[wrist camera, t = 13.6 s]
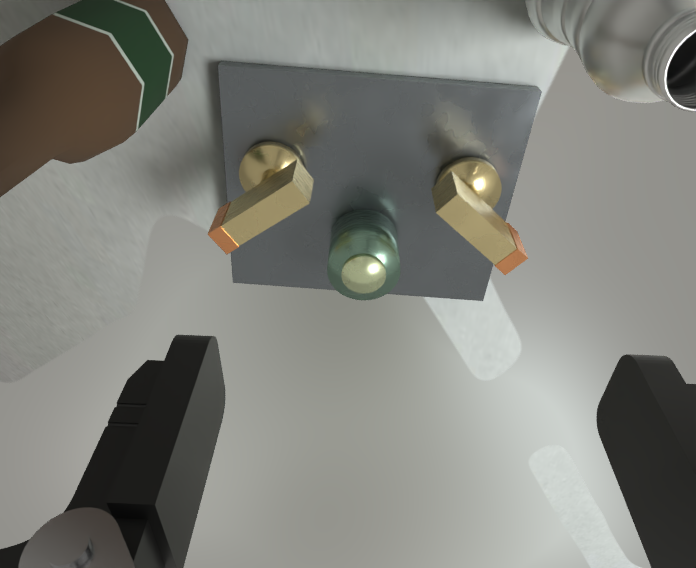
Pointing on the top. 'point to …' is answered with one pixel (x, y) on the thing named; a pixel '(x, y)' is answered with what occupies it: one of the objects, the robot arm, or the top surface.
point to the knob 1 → (262, 194)
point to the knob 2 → (477, 211)
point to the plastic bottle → (628, 45)
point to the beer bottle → (84, 82)
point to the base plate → (370, 174)
